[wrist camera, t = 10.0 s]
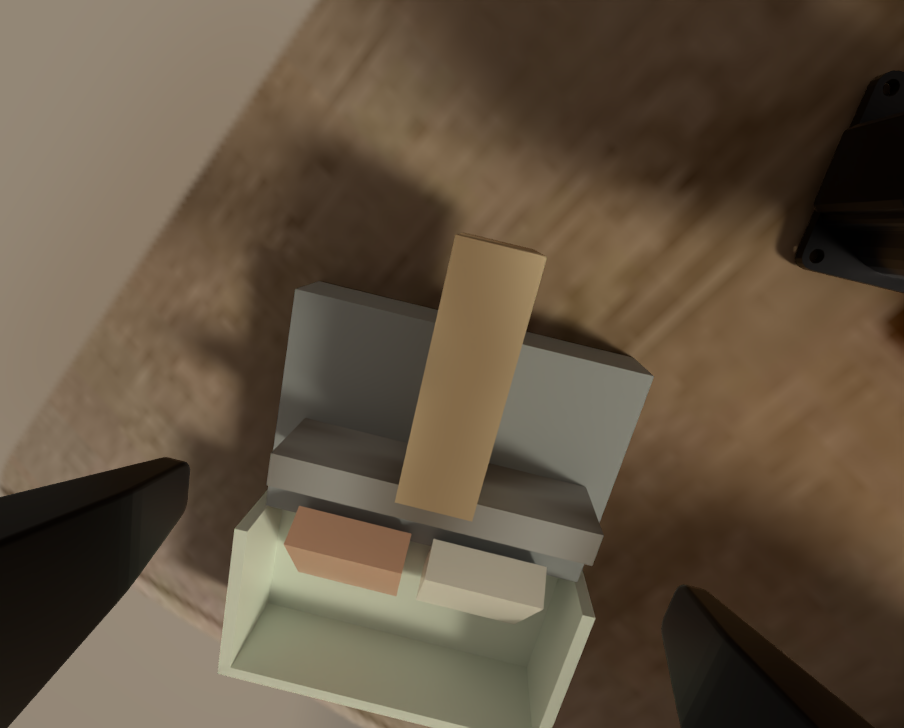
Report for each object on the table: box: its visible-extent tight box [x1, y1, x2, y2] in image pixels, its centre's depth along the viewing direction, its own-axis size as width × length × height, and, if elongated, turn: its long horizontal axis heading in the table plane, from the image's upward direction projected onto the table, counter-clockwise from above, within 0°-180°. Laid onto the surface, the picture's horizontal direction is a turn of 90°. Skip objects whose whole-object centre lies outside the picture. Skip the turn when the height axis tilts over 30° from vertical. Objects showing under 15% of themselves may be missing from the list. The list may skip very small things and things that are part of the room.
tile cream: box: [416, 539, 547, 624], centre depth 20 cm, size 4×4×2 cm
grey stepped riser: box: [266, 281, 654, 582], centre depth 19 cm, size 13×9×2 cm
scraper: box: [267, 233, 604, 566], centre depth 15 cm, size 11×9×4 cm
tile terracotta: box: [284, 506, 411, 596], centre depth 20 cm, size 4×4×2 cm
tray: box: [218, 489, 595, 728], centre depth 21 cm, size 14×7×4 cm, turn 77°
